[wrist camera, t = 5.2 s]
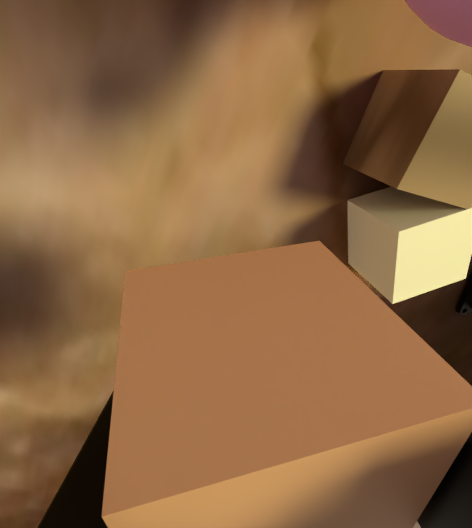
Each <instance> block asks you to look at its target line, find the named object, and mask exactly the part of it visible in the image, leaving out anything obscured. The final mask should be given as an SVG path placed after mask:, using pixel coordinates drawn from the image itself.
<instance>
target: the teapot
mask: <svg viewBox="0 0 472 528" xmlns="http://www.w3.org/2000/svg"><path fill="white" fill-rule="evenodd" d="M405 1H406V3H407V4H408V6H409V7H410V8H411V9H412V10H413V11H414V12H415V13H416V14H417V15H418V16H419V17H420V18H421V19H422V21H424V22H425V23H426V24H427V25H428V26H429V27H430V28H431V29H433V30H434V31H436V32H438V33H439V34H441V35H442V36H444V37H446V38H448V39H451V40H453V41H456V42H459V43H462V44H464V45H467V46H470V47H472V0H405Z"/></svg>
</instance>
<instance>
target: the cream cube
mask: <svg viewBox="0 0 472 528" xmlns="http://www.w3.org/2000/svg"><path fill="white" fill-rule="evenodd" d="M471 255H472V204H471V206H470V208H469V209H465V208H462V207H458V206H455V205H451V204H448V203H444V202H441V201H437V200H434V199H430V198H427V197H423V196H420V195H416V194H413V193H409V192H406V191H402V190H399V189H396V188H394V187H392V186H391V187H388V188H385V189H382V190H378V191H375V192H372V193H369V194H365V195H362V196H359V197H356V198H353V199H349V200H348V264H350V265H351V266H352V267H353V268H354V269H355V270H356V271H357V272H358V273H359V274H360V275H361V276H363V277H364V278H365V279H366V280H367V281H368V282H369V283H370V284H371V285H372V286H373V287H375V288H376V289H377V290H378V291H379V292H380V293H381V294H382V295H383V296H384V297H385V298H386V299H388V300H389V301H390V302H391V303H392V304H394V303H397V302H400V301H403V300H406V299H409V298H411V297H414V296H417V295H420V294H423V293H426V292H429V291H431V290H434V289H437V288H440V287H443V286H446V285H449V284H451V283H454V282H457V281H460V280H463V279H466V276H467V272H468V267H469V263H470V259H471Z"/></svg>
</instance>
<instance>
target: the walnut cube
mask: <svg viewBox="0 0 472 528" xmlns="http://www.w3.org/2000/svg"><path fill="white" fill-rule="evenodd" d="M343 164H344V165H346V166H348V167H350V168H353V169H355V170H357V171H359V172H361V173H363V174H366V175H368V176H370V177H372V178H374V179H376V180H379V181H381V182H383V183H385V184H387V185H389V186H392V187H394V188H396V189H399V190H402V191H406V192H409V193H413V194H416V195H420V196H423V197H427V198H430V199H434V200H437V201H441V202H444V203H448V204H451V205H455V206H458V207H462V208H465V209H469V208H470V206H471V204H472V75H470V74H468V73H466V72H464V71H462V70H383V72H382V74H381V76H380V79H379V81H378V83H377V85H376V88H375V90H374V92H373V95H372V97H371V99H370V102H369V104H368V106H367V108H366V111H365V113H364V115H363V118H362V120H361V122H360V125H359V127H358V129H357V132H356V134H355V136H354V138H353V141H352V143H351V145H350V148H349V150H348V152H347V155H346V157H345V159H344V162H343Z"/></svg>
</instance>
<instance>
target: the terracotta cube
mask: <svg viewBox="0 0 472 528" xmlns="http://www.w3.org/2000/svg"><path fill="white" fill-rule="evenodd" d="M471 432H472V386H471V385H470V384H469V383H468V382H467V381H466V380H465V379H464V378H462V377H461V376H460V375H459V374H458V373H457V372H456V371H455V370H454V369H453V368H452V367H451V366H450V365H449V364H448V363H447V362H446V361H445V360H444V359H443V358H442V357H441V356H439V355H438V354H437V353H436V352H435V351H434V350H433V349H432V348H431V347H430V346H429V345H428V344H427V343H426V342H425V341H424V340H423V339H422V338H421V337H420V336H419V335H418V334H416V333H415V332H414V331H413V330H412V329H411V328H410V327H409V326H408V325H407V324H406V323H405V322H404V321H403V320H402V319H401V318H400V317H399V316H398V315H397V314H396V313H395V312H393V311H392V310H391V309H390V308H389V307H388V306H387V305H386V304H385V303H384V302H383V301H382V300H381V299H380V298H379V297H378V296H377V295H376V294H375V293H374V292H373V291H371V290H370V289H369V288H368V287H367V286H366V285H365V284H364V283H363V282H362V281H361V280H360V279H359V278H358V277H357V276H356V275H355V274H354V273H353V272H352V271H351V270H350V269H348V268H347V267H346V266H345V265H344V264H343V263H342V262H341V261H340V260H339V259H338V258H337V257H336V256H335V255H334V254H333V253H332V252H331V251H330V250H329V249H328V248H327V247H325V246H324V245H323V244H322V243H321V242H320V241H313V242H307V243H301V244H294V245H288V246H282V247H275V248H269V249H263V250H256V251H250V252H244V253H237V254H231V255H225V256H218V257H212V258H206V259H199V260H193V261H187V262H180V263H174V264H168V265H161V266H155V267H149V268H142V269H136V270H130V271H125V280H124V291H123V301H122V311H121V322H120V332H119V342H118V352H117V363H116V373H115V383H114V393H113V404H112V414H111V424H110V435H109V445H108V455H107V465H106V476H105V486H104V496H103V506H102V518H103V520H104V522H105V523H106V525H107V527H108V528H413V526H414V525H415V523H416V521H417V520H418V518H419V517H420V515H421V513H422V512H423V510H424V509H425V507H426V505H427V504H428V502H429V500H430V499H431V497H432V496H433V494H434V492H435V491H436V489H437V487H438V486H439V484H440V483H441V481H442V479H443V478H444V476H445V474H446V473H447V471H448V470H449V468H450V466H451V465H452V463H453V461H454V460H455V458H456V457H457V455H458V453H459V452H460V450H461V449H462V447H463V445H464V444H465V442H466V440H467V439H468V437H469V436H470V434H471Z"/></svg>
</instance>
